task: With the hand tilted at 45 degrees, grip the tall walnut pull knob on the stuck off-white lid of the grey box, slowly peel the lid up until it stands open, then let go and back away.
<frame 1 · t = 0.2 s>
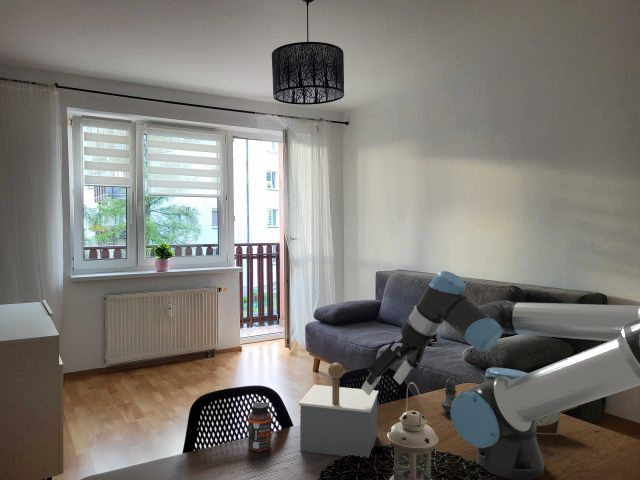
hand: (381, 385, 124), 16 cm above the table, tool tilted 35°, fingers open, 13 cm apart
supplement bottle: (259, 448, 122), on the table
salt shaker: (450, 415, 145), on the table
lid: (340, 378, 124), point 18 cm above the table, hinge at 0.0°
food container: (536, 430, 134), on the table
grey box: (339, 442, 125), on the table
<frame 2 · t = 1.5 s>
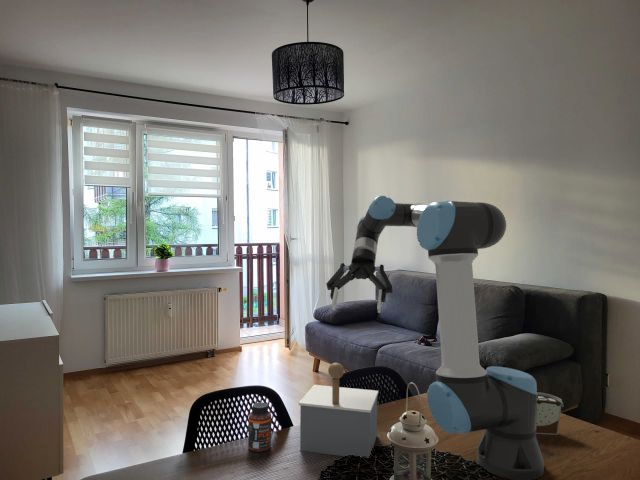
hand: (355, 308, 137), 34 cm above the table, tool tilted 45°, fingers open, 13 cm apart
nothing on the table moved.
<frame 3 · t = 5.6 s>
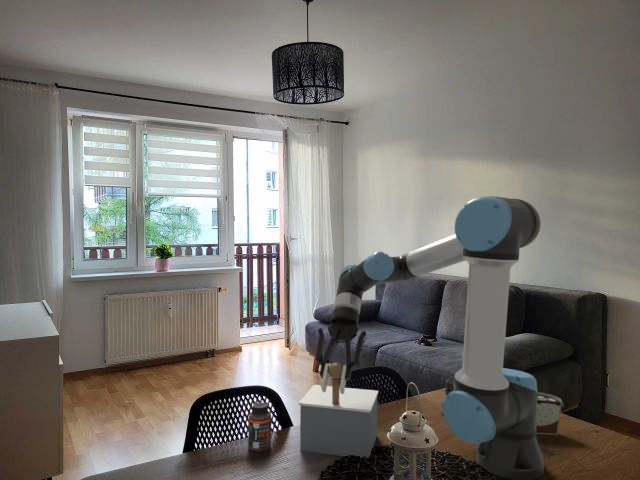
hand: (332, 390, 116), 17 cm above the table, tool tilted 45°, fingers closed on lid, 4 cm apart
lid: (340, 378, 124), point 18 cm above the table, hinge at 0.0°, touching gripper
everything else where it was.
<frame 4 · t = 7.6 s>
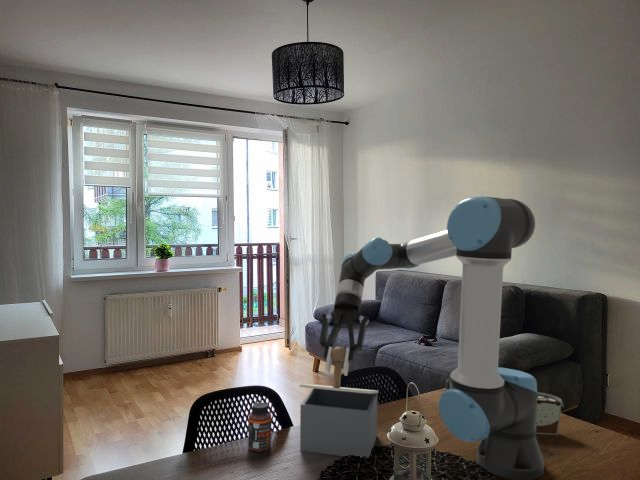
hand: (336, 372, 119), 21 cm above the table, tool tilted 45°, fingers closed on lid, 4 cm apart
lid: (341, 368, 126), point 20 cm above the table, hinge at 17.9°, touching gripper
everything else where it was.
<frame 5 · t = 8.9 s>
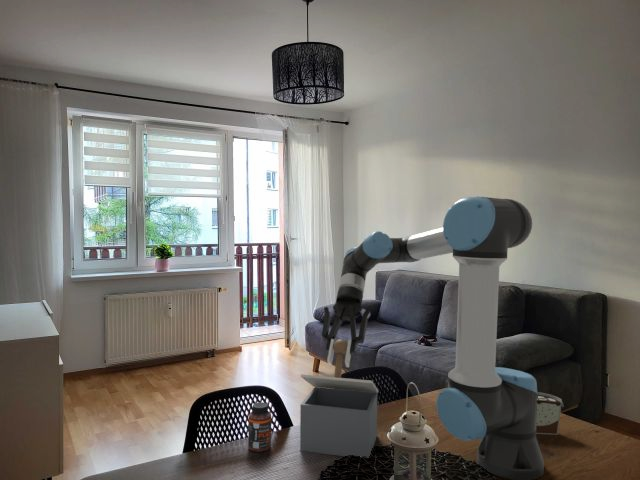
hand: (338, 363, 122), 22 cm above the table, tool tilted 45°, fingers closed on lid, 4 cm apart
lid: (342, 364, 128), point 20 cm above the table, hinge at 28.0°, touching gripper
everything else where it was.
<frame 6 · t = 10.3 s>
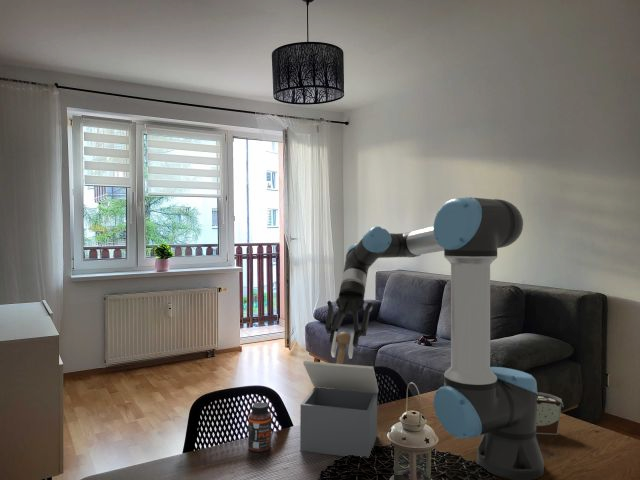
hand: (341, 355, 125), 23 cm above the table, tool tilted 45°, fingers closed on lid, 4 cm apart
lid: (344, 359, 130), point 21 cm above the table, hinge at 42.5°, touching gripper
everything else where it was.
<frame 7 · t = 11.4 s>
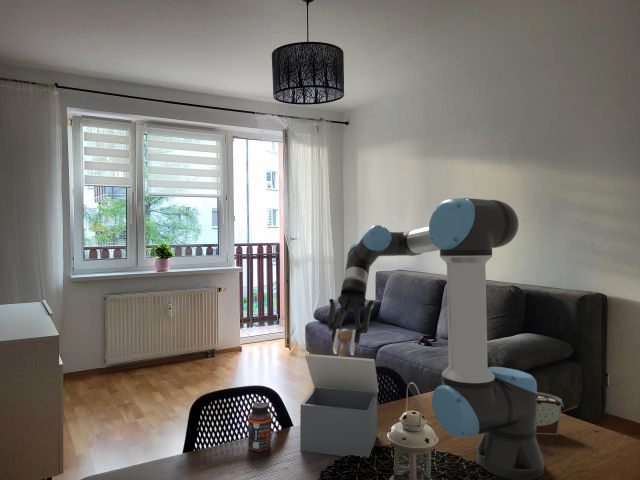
hand: (343, 351, 128), 24 cm above the table, tool tilted 45°, fingers closed on lid, 4 cm apart
lid: (345, 357, 131), point 21 cm above the table, hinge at 51.2°, touching gripper
everything else where it was.
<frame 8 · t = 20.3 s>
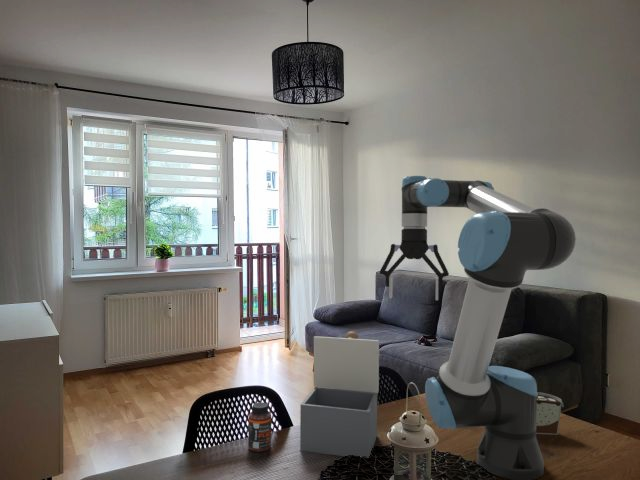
hand: (413, 298, 140), 37 cm above the table, tool pointing down, fingers open, 13 cm apart
lid: (349, 358, 137), point 19 cm above the table, hinge at 88.4°
everything else where it was.
at the end: lid at +88° (first picture: +0°); the gripper is holding nothing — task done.
